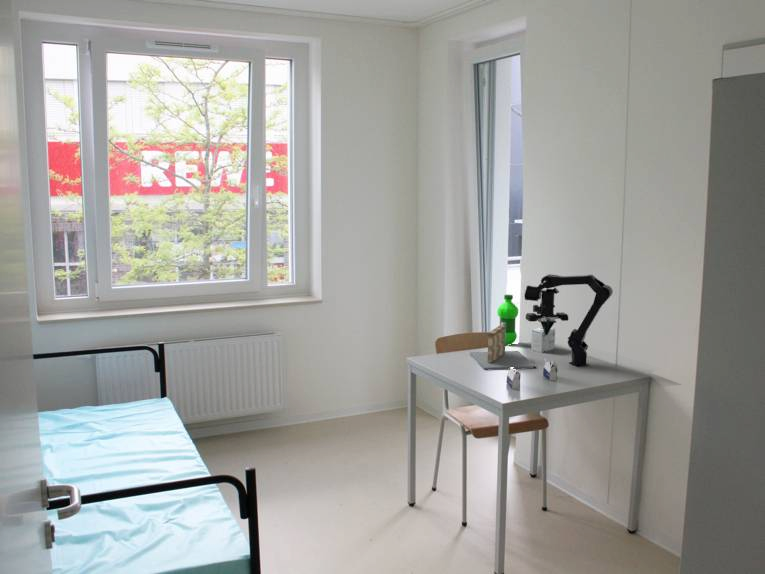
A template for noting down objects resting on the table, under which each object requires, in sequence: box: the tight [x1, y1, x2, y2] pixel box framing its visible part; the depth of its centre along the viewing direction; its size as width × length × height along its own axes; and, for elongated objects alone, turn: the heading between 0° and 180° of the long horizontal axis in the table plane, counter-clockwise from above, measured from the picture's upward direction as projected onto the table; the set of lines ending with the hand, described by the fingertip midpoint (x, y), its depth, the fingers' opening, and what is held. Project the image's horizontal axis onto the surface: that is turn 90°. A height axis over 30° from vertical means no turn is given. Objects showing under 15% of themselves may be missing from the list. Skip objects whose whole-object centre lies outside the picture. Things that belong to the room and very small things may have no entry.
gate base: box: [469, 322, 537, 370], centre depth 315 cm, size 24×26×16 cm
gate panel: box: [487, 325, 505, 362], centre depth 315 cm, size 17×3×13 cm, turn 152°
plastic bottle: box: [497, 294, 519, 346], centre depth 346 cm, size 10×10×25 cm
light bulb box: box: [530, 326, 556, 353], centre depth 336 cm, size 11×7×11 cm, turn 130°
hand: (546, 335), depth 316 cm, fingers closed
